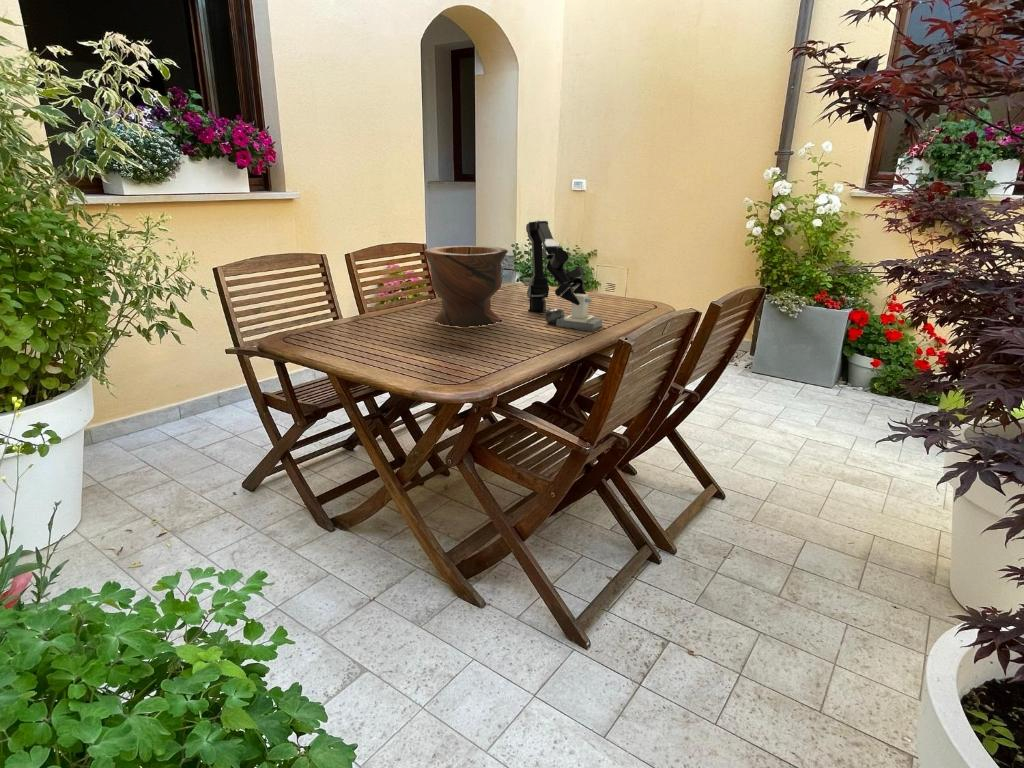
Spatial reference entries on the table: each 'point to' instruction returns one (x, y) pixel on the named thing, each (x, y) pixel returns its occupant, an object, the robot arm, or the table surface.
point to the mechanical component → (526, 282)
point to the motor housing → (572, 320)
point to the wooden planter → (466, 283)
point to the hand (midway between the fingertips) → (583, 302)
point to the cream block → (581, 307)
